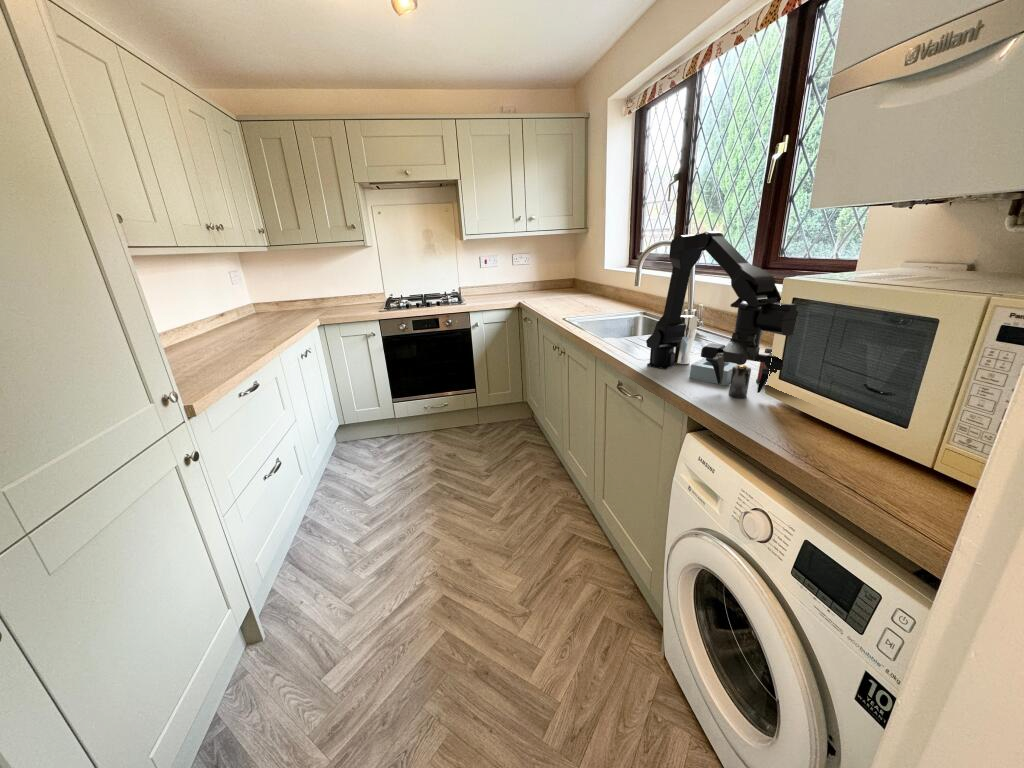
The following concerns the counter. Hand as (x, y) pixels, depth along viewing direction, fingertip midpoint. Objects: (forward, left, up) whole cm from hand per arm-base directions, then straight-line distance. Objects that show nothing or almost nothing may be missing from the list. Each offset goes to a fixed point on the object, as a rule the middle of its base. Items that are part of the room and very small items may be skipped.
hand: (738, 388), depth 100 cm
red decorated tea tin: (+4, +15, -2) cm, 16 cm away
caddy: (-10, +11, -2) cm, 15 cm away
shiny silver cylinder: (-24, +18, -2) cm, 30 cm away
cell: (0, 0, -2) cm, 2 cm away
